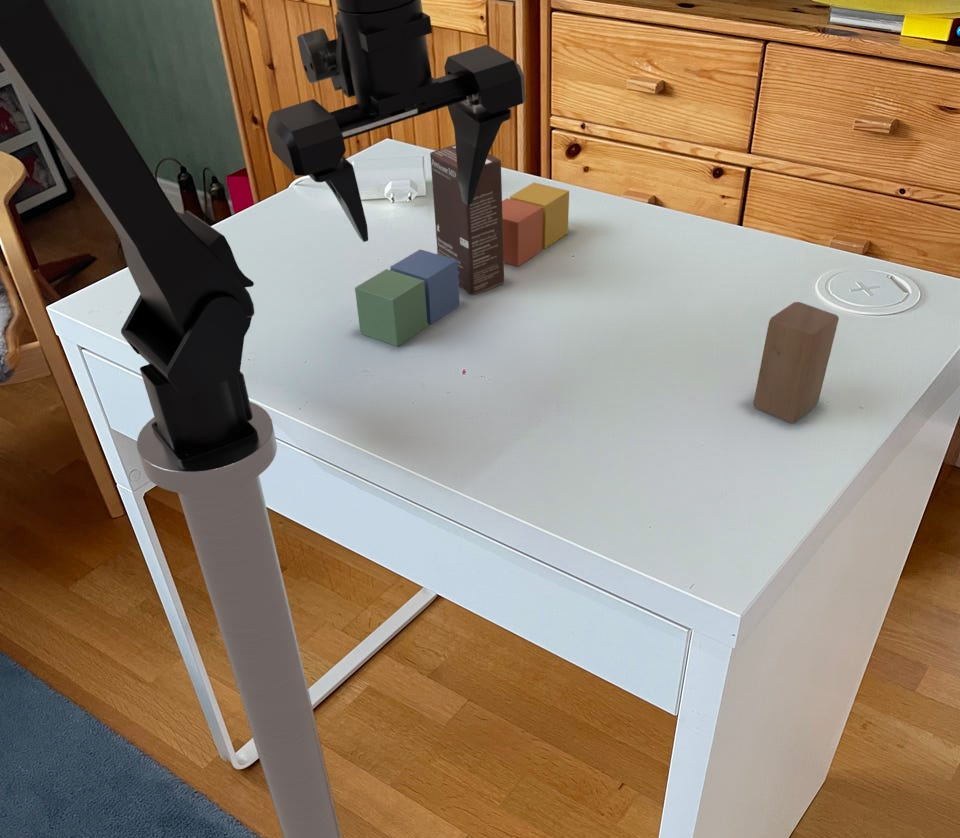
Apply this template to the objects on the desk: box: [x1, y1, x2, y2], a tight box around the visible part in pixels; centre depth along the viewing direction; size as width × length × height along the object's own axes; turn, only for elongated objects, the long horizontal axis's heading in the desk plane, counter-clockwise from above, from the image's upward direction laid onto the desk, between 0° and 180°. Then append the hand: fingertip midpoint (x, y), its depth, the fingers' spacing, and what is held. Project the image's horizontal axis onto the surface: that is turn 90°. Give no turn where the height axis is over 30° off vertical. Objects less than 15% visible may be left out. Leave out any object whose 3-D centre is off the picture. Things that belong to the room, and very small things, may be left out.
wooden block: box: [752, 301, 840, 424], centre depth 78 cm, size 4×4×8 cm
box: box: [429, 144, 505, 295], centre depth 94 cm, size 6×4×12 cm
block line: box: [354, 181, 570, 347], centre depth 97 cm, size 29×4×4 cm, turn 144°
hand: (416, 221), depth 79 cm, fingers open, 9 cm apart
